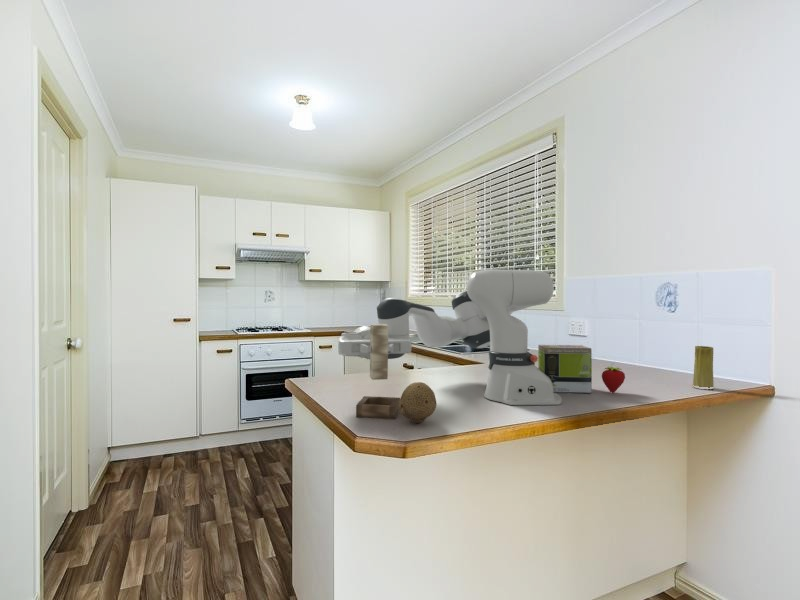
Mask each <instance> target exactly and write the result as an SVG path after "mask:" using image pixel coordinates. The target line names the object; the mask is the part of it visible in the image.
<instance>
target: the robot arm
mask: <svg viewBox="0 0 800 600" xmlns="http://www.w3.org/2000/svg"><path fill="white" fill-rule="evenodd" d="M554 287H555V286H554V281H553V279H552V278H551V276H550V275H549V273H547V272H543V271H539V270H534V269H533V270H532V269H495V268H494V269H482V270H479V271H474V272H472V274H471V275H470V276H469V278H468V280H467V282H466V290H464V291H460V292H459V293H457V294H456V295H455V296H454V297H453V298H452V300H451V307H452V310H454V313H455V314H454V315H455V317H456V318H455V317H451V316H448V315H438V313H436V311H435V309H434V308H432V307H430V306H427V305H423V304H419V303H414V302H409V301H407V300H404V299H401V298H400V297H387V298H384V299H382V300H381V301H380V302H379V303H378V305H377V307H376V314H377V315H376V316H377V319H378V320H377V321H378V322H377V324H386V325H388V360H392V359H393V360H394V359H398V358H401V357H403V356H404V355H406V354H410V353H411V352H412V348H413V347H412V346H413V345H412V340H411V339H410V316H412V318H413V320H414V325H415V329H416V330H415V331H416V335H417V337H418V339H419V341H420V342H421V343H422V344H424V346H426V347H428V348H429V347H430V348H441V347H445V346H448V345H449V346H450V345H451V344H452V343H455V342H456V341H459V340H462V341H463V342H462V344H463V345H467V346H468V347H469V348H473V349H484V348H487V347H489V350H488V355H487V367H488V374H487V375H488V376H487V383H486V387H485V390H484V395H483V396H484V398H485V399H487V400H491V401H493V402H498V403H499V402H500V403H504V404H506V405H510V406H514V405H515V406H531V405H532V406H533V405H534V406H535V405H536V406H537V405H539V406H540V405H541V406H542V405H543V406H546V405H548V406H549V405H550V406H552V405H555V406H556V405H557V406H558V405H561V404H562V403H563V402H562V401H563V399H562V397H561V396H560V395H559V394H557V393H556V392H554V389H553V384H552V381H551V380H550V378H549V377H548V376H547V375H545V374H544V373H543V372H542V371H541V370H539V369H538V367H537V366H536V365H535V366H534V365H533V364H534V362H535V363H538V362H537V361H538V355H535V354H532V353H531V352H528V341H529V339H528V336H529V335H528V334H529V330H528V327H527V325H526V323H525V322H524V321H522V320H521V319H519V318H517V317H516V316H513V315H512V314H513V313H514V312H517V311H520V310H524V309H527V308H528V309H529V308H531V307H536V306H541V305H546V304H548V303H549V301H550V300H551V299H552V297H553V294H554V292H555V291H554V290H555V288H554ZM370 328H371V326H367V325H363V326H359V327H357V328H356V329H355V330H354V331H350V332H342V333H341V335H340V336H339V337H338V346H337V347H338V348H337V349H338V355H341V356H343V357H357V358H360V359H366V360H370V353H372V346H370Z"/></svg>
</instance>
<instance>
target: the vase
mask: <svg viewBox="0 0 800 600" xmlns="http://www.w3.org/2000/svg"><path fill="white" fill-rule="evenodd" d="M692 381H693V382H692V386H693V385H694V386H699V387H708V388H710V387H714V388H715V386H714V385H715V384H714V347H712V346H708V345H707V346H705V345H703V346H702V345H695V346H694V367H693V379H692Z"/></svg>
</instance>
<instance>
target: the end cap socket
mask: <svg viewBox="0 0 800 600" xmlns="http://www.w3.org/2000/svg"><path fill="white" fill-rule="evenodd" d="M400 398H401V397H396V396H395V397H393V396H391V397H389V396H370V395H369V396H367V395H365V396H363V397H362V398H361V399H360V400H359V401H358V403H356V407H355V418H365V417H368V418H369V419H370V418H371V419H387V418H389V420H390V419H392V420H395V419H396V418H397V416H398V414H399V412H398V403H399V401H400Z"/></svg>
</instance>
